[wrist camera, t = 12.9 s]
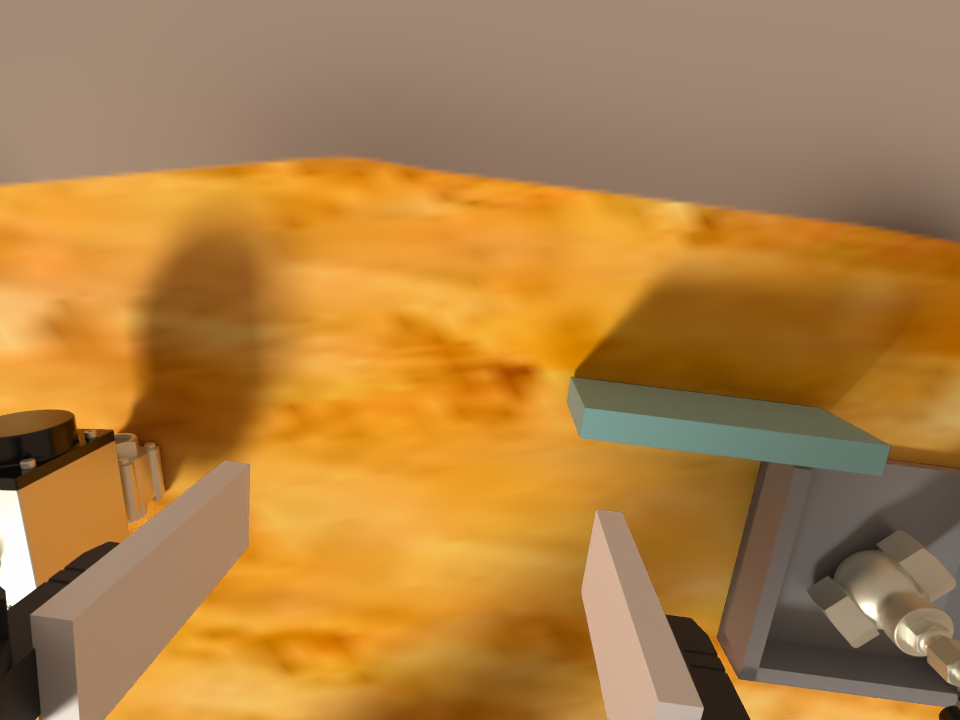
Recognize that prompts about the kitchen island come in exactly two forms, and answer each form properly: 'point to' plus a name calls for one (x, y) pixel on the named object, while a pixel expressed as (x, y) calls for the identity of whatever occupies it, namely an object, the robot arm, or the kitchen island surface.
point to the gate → (722, 426)
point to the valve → (895, 603)
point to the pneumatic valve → (66, 493)
